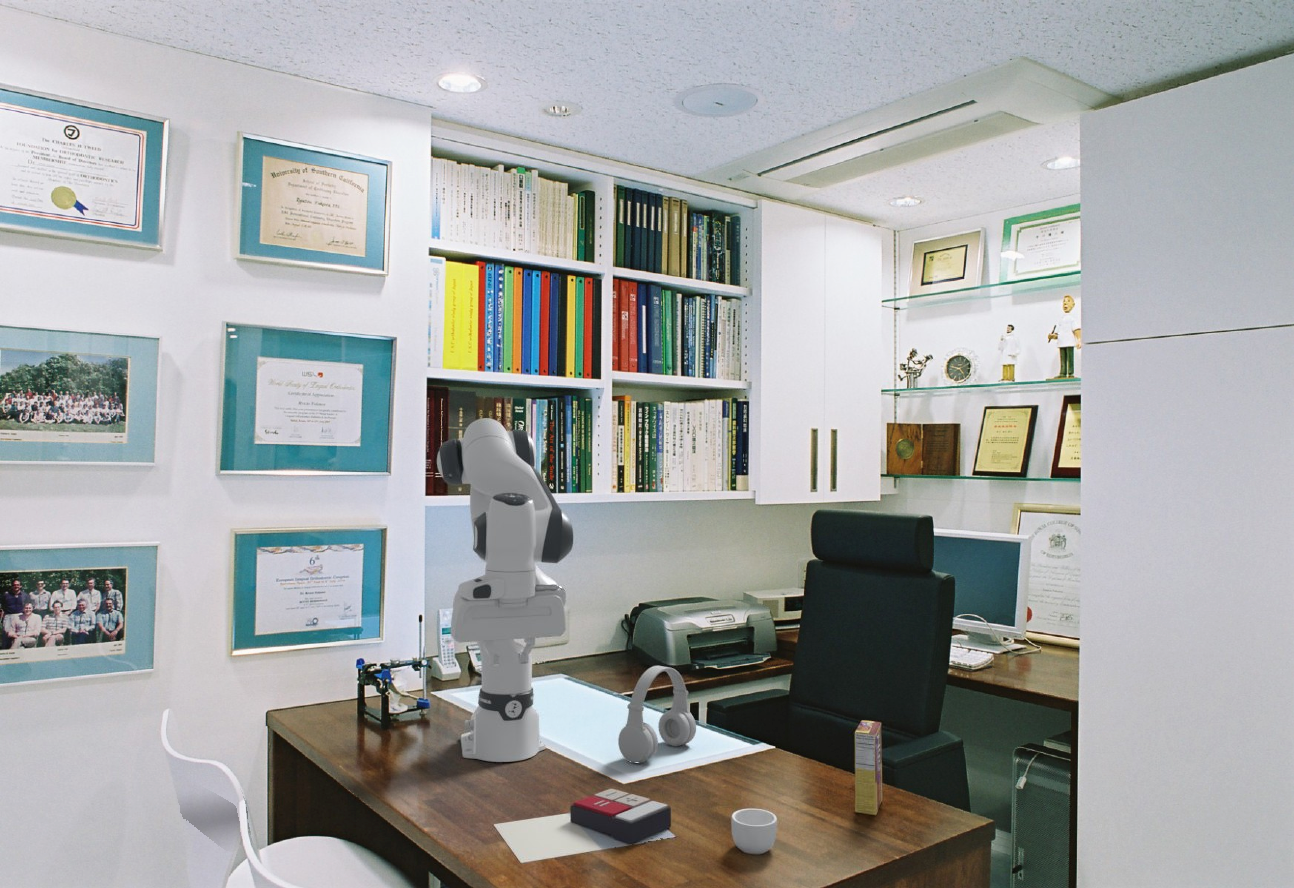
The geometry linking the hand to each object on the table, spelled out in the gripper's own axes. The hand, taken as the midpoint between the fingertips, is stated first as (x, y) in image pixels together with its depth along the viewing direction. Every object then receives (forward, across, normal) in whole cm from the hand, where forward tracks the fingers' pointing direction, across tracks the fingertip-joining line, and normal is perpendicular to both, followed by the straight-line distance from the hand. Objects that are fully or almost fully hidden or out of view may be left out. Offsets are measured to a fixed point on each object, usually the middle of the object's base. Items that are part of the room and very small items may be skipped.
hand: (508, 664), depth 161 cm
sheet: (+29, -13, +5) cm, 32 cm away
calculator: (+29, -20, +5) cm, 36 cm away
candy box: (+29, -68, +14) cm, 75 cm away
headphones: (+30, -44, -30) cm, 61 cm away
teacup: (+29, -38, +22) cm, 53 cm away
